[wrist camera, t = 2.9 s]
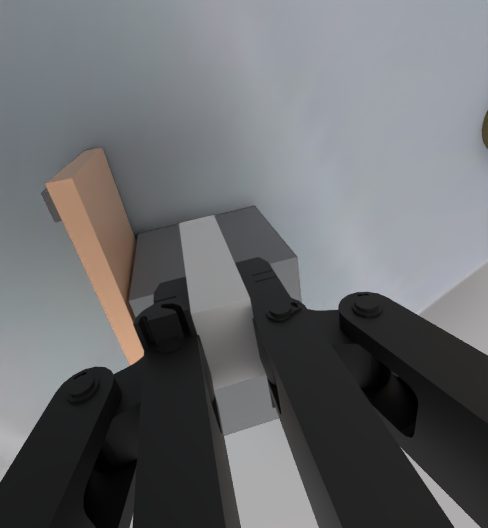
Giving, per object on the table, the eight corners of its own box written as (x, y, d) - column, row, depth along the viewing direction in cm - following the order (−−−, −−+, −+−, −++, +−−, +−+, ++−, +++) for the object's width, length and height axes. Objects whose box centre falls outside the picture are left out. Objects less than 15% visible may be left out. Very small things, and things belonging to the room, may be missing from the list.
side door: (70, 153, 23) (21, 188, 15) (102, 147, 23) (71, 178, 15) (159, 370, 34) (159, 459, 26) (180, 364, 34) (187, 451, 26)
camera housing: (138, 233, 27) (127, 309, 18) (255, 205, 28) (302, 262, 19) (185, 368, 35) (195, 470, 26) (276, 342, 36) (316, 430, 27)
